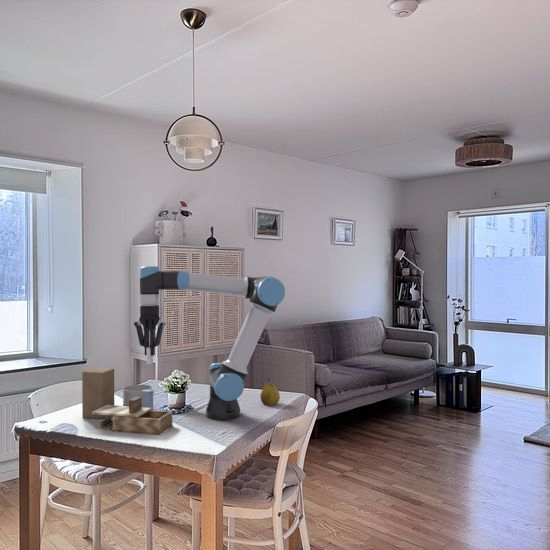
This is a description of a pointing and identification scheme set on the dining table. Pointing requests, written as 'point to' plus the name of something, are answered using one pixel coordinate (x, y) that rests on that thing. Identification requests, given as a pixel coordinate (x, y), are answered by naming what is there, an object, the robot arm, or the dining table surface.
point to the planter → (133, 392)
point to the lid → (124, 409)
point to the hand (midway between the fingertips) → (149, 363)
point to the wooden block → (97, 391)
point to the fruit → (270, 394)
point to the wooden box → (144, 423)
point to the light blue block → (147, 398)
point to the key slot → (106, 423)
